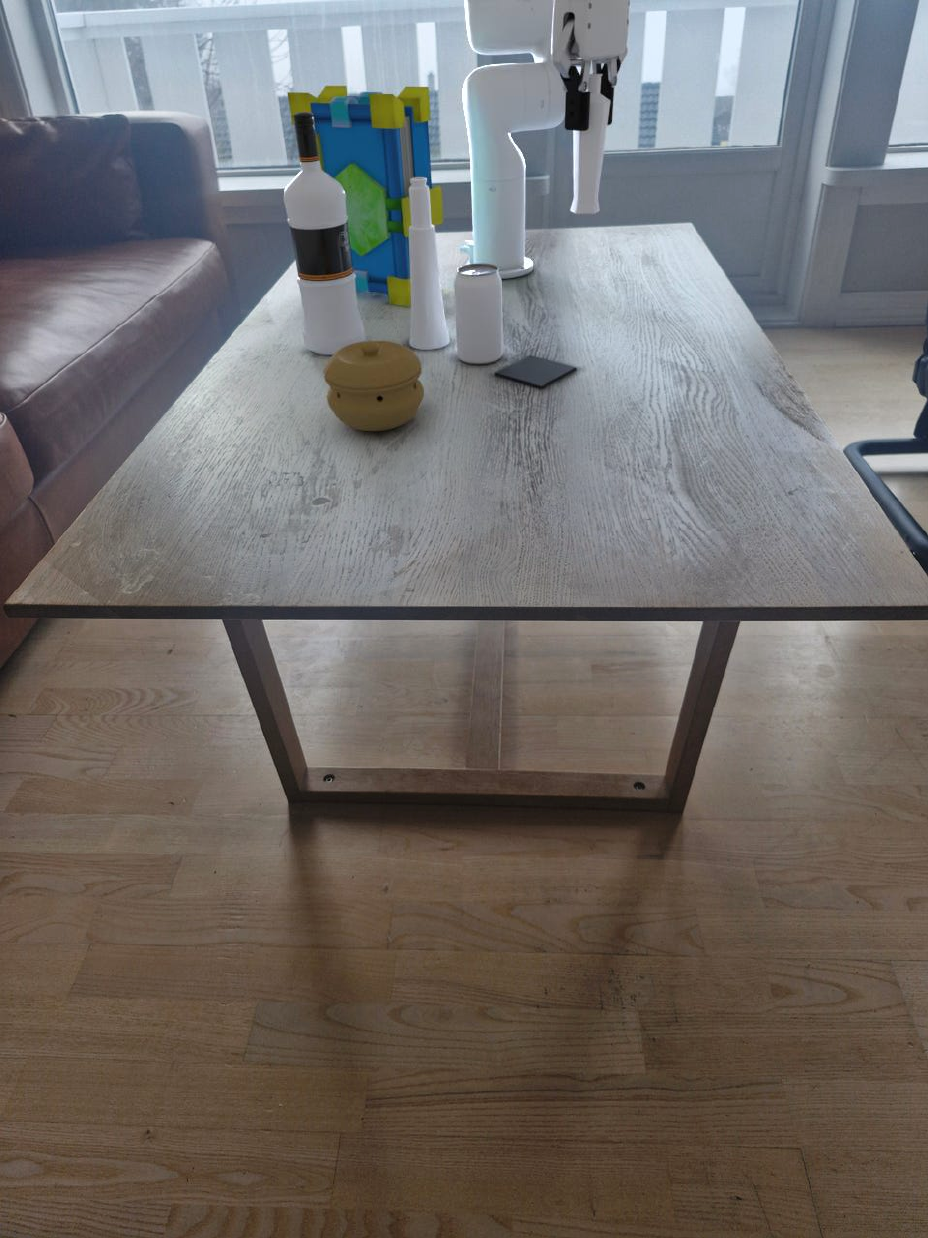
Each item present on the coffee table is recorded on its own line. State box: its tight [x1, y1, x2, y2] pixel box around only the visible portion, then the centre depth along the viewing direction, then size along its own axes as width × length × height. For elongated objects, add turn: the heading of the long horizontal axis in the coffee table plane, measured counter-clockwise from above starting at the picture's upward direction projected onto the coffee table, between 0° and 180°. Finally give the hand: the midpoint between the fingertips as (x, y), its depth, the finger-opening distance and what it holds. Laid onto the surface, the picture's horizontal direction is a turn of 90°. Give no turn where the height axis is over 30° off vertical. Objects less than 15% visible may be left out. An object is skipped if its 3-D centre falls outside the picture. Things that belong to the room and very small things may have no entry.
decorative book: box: [286, 85, 444, 308], centre depth 132 cm, size 14×23×30 cm, turn 58°
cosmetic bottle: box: [408, 177, 450, 351], centre depth 112 cm, size 6×6×22 cm
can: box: [453, 263, 503, 366], centre depth 110 cm, size 6×6×12 cm
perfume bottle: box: [569, 73, 610, 215], centre depth 101 cm, size 5×4×15 cm
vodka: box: [283, 112, 367, 356], centre depth 111 cm, size 9×9×30 cm
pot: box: [323, 339, 425, 432], centre depth 95 cm, size 12×12×10 cm
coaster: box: [494, 354, 577, 390], centre depth 108 cm, size 8×8×1 cm
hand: (588, 125), depth 99 cm, fingers closed on perfume bottle, 4 cm apart
